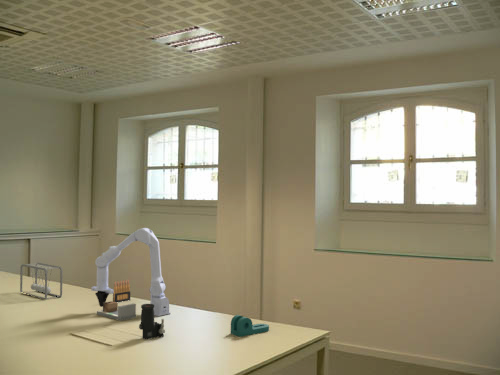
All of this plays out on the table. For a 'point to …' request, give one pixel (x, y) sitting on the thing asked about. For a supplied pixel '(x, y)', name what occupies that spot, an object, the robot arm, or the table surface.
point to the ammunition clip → (121, 291)
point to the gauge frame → (121, 312)
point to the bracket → (246, 326)
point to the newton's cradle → (40, 287)
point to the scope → (150, 323)
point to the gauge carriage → (110, 306)
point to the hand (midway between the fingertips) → (102, 306)
